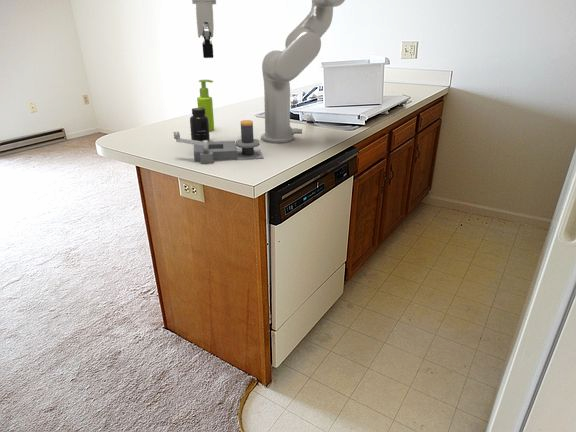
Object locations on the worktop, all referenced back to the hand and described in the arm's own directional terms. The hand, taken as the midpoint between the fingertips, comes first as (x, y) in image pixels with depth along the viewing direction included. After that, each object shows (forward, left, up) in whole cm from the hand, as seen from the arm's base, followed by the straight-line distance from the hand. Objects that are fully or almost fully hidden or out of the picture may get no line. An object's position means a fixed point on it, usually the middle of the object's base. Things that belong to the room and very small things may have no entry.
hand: (208, 56), depth 139 cm
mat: (-11, +15, -30) cm, 36 cm away
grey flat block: (0, +14, -30) cm, 33 cm away
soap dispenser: (+2, -22, -31) cm, 38 cm away
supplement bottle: (+5, -6, -31) cm, 31 cm away
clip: (+8, +17, -27) cm, 33 cm away
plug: (-11, +15, -30) cm, 35 cm away
